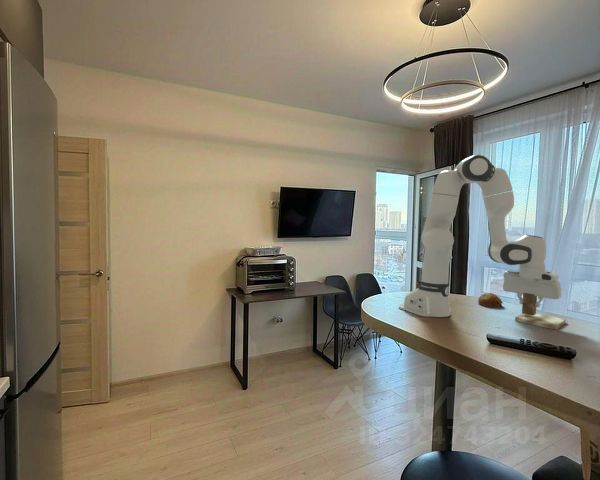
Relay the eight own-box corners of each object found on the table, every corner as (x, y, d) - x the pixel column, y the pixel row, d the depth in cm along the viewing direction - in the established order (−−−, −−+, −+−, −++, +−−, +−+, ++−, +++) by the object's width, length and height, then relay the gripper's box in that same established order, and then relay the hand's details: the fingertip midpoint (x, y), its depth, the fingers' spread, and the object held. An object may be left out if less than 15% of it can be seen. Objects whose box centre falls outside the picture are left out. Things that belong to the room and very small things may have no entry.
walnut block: (521, 313, 138) (523, 292, 137) (524, 311, 141) (526, 291, 140) (533, 315, 135) (534, 294, 134) (535, 313, 138) (537, 292, 137)
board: (515, 320, 136) (515, 317, 136) (525, 314, 145) (526, 311, 145) (556, 329, 125) (556, 326, 125) (565, 322, 134) (565, 319, 134)
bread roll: (492, 309, 165) (486, 294, 168) (509, 306, 156) (503, 290, 159) (477, 311, 162) (472, 295, 165) (493, 307, 153) (488, 291, 156)
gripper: (501, 270, 143) (499, 301, 144) (559, 277, 127) (556, 312, 128) (506, 269, 147) (504, 299, 148) (563, 276, 131) (561, 309, 132)
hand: (529, 305), depth 138 cm, fingers closed on walnut block, 4 cm apart
